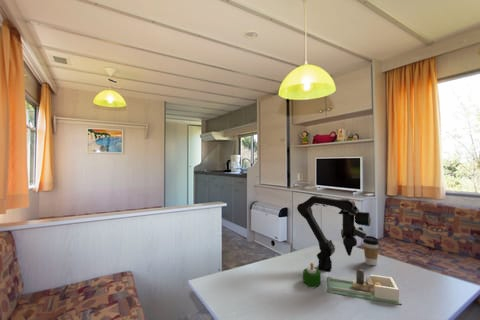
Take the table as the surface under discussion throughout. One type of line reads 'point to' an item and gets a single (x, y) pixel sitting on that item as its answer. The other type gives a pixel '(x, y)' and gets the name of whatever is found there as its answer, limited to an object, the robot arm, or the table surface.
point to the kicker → (360, 283)
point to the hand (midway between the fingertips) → (348, 252)
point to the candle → (311, 277)
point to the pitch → (381, 293)
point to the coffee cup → (371, 250)
